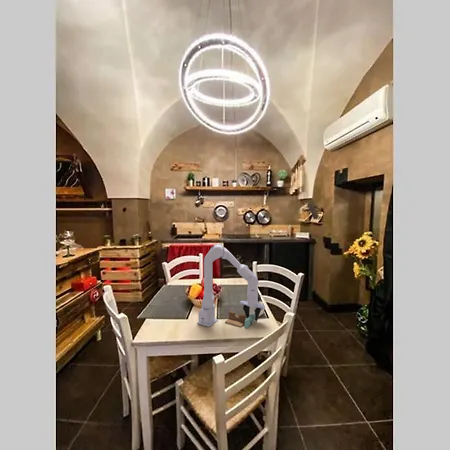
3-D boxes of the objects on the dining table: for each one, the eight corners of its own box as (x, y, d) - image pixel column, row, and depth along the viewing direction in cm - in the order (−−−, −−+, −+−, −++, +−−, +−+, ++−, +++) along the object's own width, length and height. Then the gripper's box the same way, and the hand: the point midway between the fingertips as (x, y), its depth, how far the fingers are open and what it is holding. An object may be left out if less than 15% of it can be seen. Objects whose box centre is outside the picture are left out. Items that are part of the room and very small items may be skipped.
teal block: (247, 328, 137) (247, 321, 136) (244, 327, 137) (244, 320, 137) (254, 320, 145) (254, 313, 145) (252, 320, 146) (252, 313, 146)
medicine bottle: (253, 310, 159) (253, 291, 158) (263, 313, 154) (263, 294, 153) (247, 314, 153) (247, 295, 152) (257, 317, 149) (257, 297, 148)
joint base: (241, 327, 137) (241, 318, 137) (224, 323, 142) (224, 314, 142) (248, 320, 146) (248, 312, 146) (233, 316, 151) (233, 308, 151)
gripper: (267, 296, 142) (267, 319, 144) (243, 291, 150) (243, 313, 151) (262, 300, 136) (262, 324, 137) (238, 295, 144) (238, 318, 145)
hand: (252, 319), depth 144 cm, fingers open, 5 cm apart
